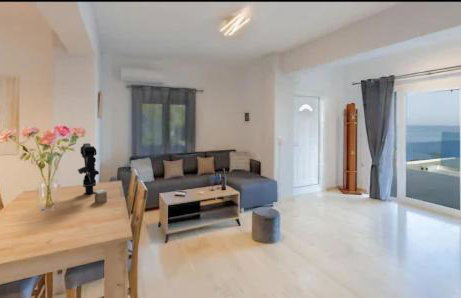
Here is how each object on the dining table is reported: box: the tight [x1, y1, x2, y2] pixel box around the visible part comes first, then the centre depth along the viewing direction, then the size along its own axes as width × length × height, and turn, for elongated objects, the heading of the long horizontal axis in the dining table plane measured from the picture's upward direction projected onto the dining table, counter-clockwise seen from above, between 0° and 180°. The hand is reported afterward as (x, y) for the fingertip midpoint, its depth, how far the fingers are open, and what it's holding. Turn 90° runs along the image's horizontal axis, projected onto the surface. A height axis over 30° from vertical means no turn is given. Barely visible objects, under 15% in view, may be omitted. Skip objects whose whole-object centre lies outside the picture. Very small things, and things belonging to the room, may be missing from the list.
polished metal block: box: [93, 189, 108, 204], centre depth 192 cm, size 6×6×8 cm
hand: (91, 183), depth 200 cm, fingers closed
